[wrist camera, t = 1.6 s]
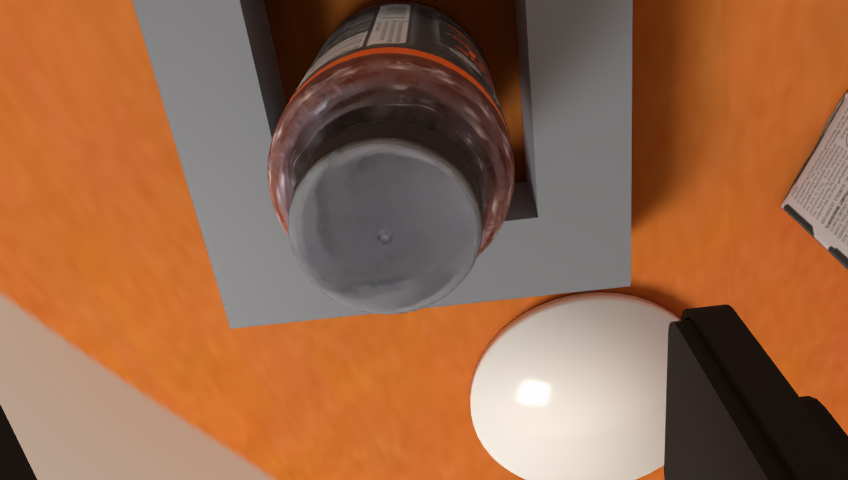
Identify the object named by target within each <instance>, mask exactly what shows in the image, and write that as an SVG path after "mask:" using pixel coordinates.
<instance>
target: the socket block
mask: <svg viewBox="0 0 848 480" xmlns="http://www.w3.org/2000/svg"><path fill="white" fill-rule="evenodd" d="M132 1H133V4H134V7H135V11H136V14H137V17H138V21H139V24H140V27H141V31H142V34H143V38H144V41H145V44H146V48H147V51H148V54H149V58H150V61H151V64H152V68H153V71H154V74H155V78H156V81H157V84H158V88H159V91H160V94H161V98H162V101H163V104H164V108H165V111H166V114H167V118H168V121H169V124H170V128H171V131H172V135H173V138H174V141H175V145H176V148H177V151H178V155H179V158H180V161H181V165H182V168H183V171H184V175H185V178H186V181H187V185H188V188H189V191H190V195H191V198H192V201H193V205H194V208H195V211H196V215H197V218H198V222H199V225H200V228H201V232H202V235H203V238H204V242H205V245H206V248H207V252H208V255H209V258H210V262H211V265H212V268H213V272H214V275H215V278H216V282H217V285H218V288H219V292H220V295H221V298H222V302H223V305H224V308H225V312H226V315H227V319H228V322H229V325H230V329H231V328H241V327H250V326H260V325H269V324H279V323H288V322H298V321H307V320H316V319H326V318H335V317H345V316H354V315H364V314H373V313H368V312H363V311H359V310H355V309H352V308H350V307H348V306H345V305H342V304H341V303H339V302H337V301H335V300H332V299H331V298H329V297H327V296H326V295H325V294H323V293H322V292H321V291H320V290H319V289H318V288H317V287H315V285H314V284H313V283H312V282H311V281H310V280H309V278H307V277H306V276H305V275H304V274H303V272H302V270H301V269H300V267H299V265H298V262H297V260H296V258H295V257H294V255H293V252H292V248H291V245H290V241H289V237H288V235H287V234H286V232H285V230H284V229H283V227H282V225H281V223H280V222H279V220H278V217H277V215H276V213H275V210H274V207H273V205H272V200H271V196H270V192H269V185H268V177H267V175H268V169H267V166H268V155H269V150H270V145H271V141H272V137H273V135H274V132H275V128H276V126H277V124H278V122H279V119H280V117H281V115H282V114H283V112H284V110H285V108H286V106H287V102H286V97H285V93H284V88H283V84H282V79H281V74H280V70H279V65H278V61H277V56H276V52H275V47H274V42H273V38H272V33H271V29H270V24H269V19H268V15H267V10H266V6H265V1H264V0H132ZM515 11H516V27H517V42H518V57H519V73H520V88H521V103H522V119H523V134H524V149H525V165H526V180H527V182H519V183H514V191H513V195H512V199H511V203H510V206H509V210H508V213H507V216H506V218H505V220H504V223H503V225H502V227H501V229H500V231H499V232H498V233H497V235H496V236H495V238H494V239H493V241H492V242H491V244H490V245H489V246H488V247H487V248H486V249H485V250H484V251H483V252H482V253H481V255H480V256H479V257H478V258H476V261H475V263H474V266H473V267H472V269H471V271H470V272H469V273H468V275H467V276H466V278H465V279H464V280H463V281H462V282H461V283H460V284H459V286H458V287H456V288H455V289H454V290H453V291H452V292H451V293H450V294H448V295H447V296H445V297H444V298H443V299H441V300H439V301H437V302H435V303H434V304H432V305H429V306H427V307H424V308H430V307H439V306H449V305H458V304H468V303H477V302H486V301H496V300H505V299H515V298H524V297H534V296H543V295H553V294H562V293H571V292H581V291H590V290H600V289H609V288H619V287H628V286H631V175H632V29H633V0H515Z"/></svg>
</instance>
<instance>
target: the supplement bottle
mask: <svg viewBox="0 0 848 480" xmlns="http://www.w3.org/2000/svg"><path fill="white" fill-rule="evenodd" d="M267 169H268V175H267V177H268V185H269V192H270V196H271V200H272V205H273V207H274V210H275V213H276V215H277V217H278V220H279V222H280V223H281V225H282V227H283V229H284V230H285V232H286V234H287V235H288V237H289V241H290V245H291V248H292V252H293V255H294V257H295V258H296V260H297V262H298V265H299V267H300V269H301V270H302V272H303V274H304V275H305V276H306V277H307V278H309V280H310V281H311V282H312V283H313V284H314V285H315V287H317V288H318V289H319V290H320V291H321V292H322V293H323V294H325V295H326V296H327V297H329V298H331V299H332V300H335V301H337V302H339V303H341V304H342V305H345V306H348V307H350V308H352V309H355V310H359V311H363V312H368V313H375V314H400V313H406V312H411V311H416V310H418V309H421V308H424V307H427V306H429V305H432V304H434V303H435V302H437V301H439V300H441V299H443V298H444V297H445V296H447V295H448V294H450V293H451V292H452V291H453V290H454V289H455V288H456V287H458V286H459V284H460V283H461V282H462V281H463V280H464V279H465V278H466V276H467V275H468V273H469V272H470V271H471V269H472V267H473V266H474V263H475V261H476V258H478V257H479V256H480V255H481V253H482V252H483V251H484V250H485V249H486V248H487V247H488V246H489V245H490V244H491V242H492V241H493V239H494V238H495V236H496V235H497V233H498V232H499V231H500V229H501V227H502V225H503V223H504V220H505V218H506V216H507V213H508V210H509V206H510V203H511V199H512V195H513V191H514V177H515V167H514V157H513V150H512V145H511V141H510V136H509V131H508V128H507V124H506V122H505V119H504V117H503V113H502V109H501V106H500V104H499V102H498V98H497V95H496V92H495V89H494V85H493V82H492V79H491V76H490V72H489V69H488V66H487V62H486V59H485V58H484V56H483V54H482V52H481V50H480V49H479V47H478V45H477V43H476V42H475V41H474V40H473V39H472V37H471V36H470V35H469V34H468V32H467V31H466V30H465V29H464V28H463V27H462V26H461V25H460V24H459V23H457V22H456V21H455V20H454V19H452V18H451V17H450V16H448V15H446V14H445V13H443V12H441V11H439V10H437V9H435V8H433V7H431V6H427V5H423V4H420V3H414V2H403V1H394V2H387V3H379V4H376V5H373V6H370V7H367V8H365V9H363V10H361V11H359V12H357V13H356V14H354V15H353V16H351V17H349V18H348V19H347V20H346V21H345V22H343V23H342V24H341V25H339V26H338V27H337V29H336V30H335V31H334V32H333V33H332V34H331V36H330V37H329V38H328V40H327V41H326V42H325V43H324V45H323V46H322V48H321V50H320V51H319V53H318V55H317V57H316V58H315V60H314V61H313V63H312V65H311V66H310V68H309V70H308V71H307V73H306V74H305V76H304V78H303V80H302V81H301V83H300V85H299V86H298V88H297V90H296V91H295V92H294V94H293V95H292V97H291V99H290V101H289V103H288V105H287V106H286V108H285V110H284V112H283V114H282V115H281V117H280V119H279V122H278V124H277V126H276V128H275V132H274V135H273V137H272V141H271V145H270V150H269V155H268V166H267Z"/></svg>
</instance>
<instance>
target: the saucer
mask: <svg viewBox="0 0 848 480" xmlns="http://www.w3.org/2000/svg"><path fill="white" fill-rule="evenodd" d="M672 321H681V319H680V318H679V317H677V316H676V315H675V314H674V313H672V312H670V311H669V310H667V309H666V308H664V307H662V306H660V305H658V304H656V303H654V302H651V301H649V300H646V299H643V298H640V297H636V296H632V295H627V294H621V293H609V292H593V293H581V294H575V295H569V296H565V297H562V298H558V299H554V300H551V301H549V302H546V303H544V304H541V305H539V306H536V307H534V308H533V309H531V310H529V311H527V312H525V313H523V314H522V315H520V316H519V317H517V318H516V319H514V320H513V321H511V322H510V323H509V324H508V325H507V326H505V327H504V328H503V329H502V330H501V331H500V332H499V333H498V334H497V335H496V336H495V337H494V338H493V339H492V341H491V342H490V343H489V344H488V346H487V347H486V349H485V350H484V352H483V353H482V355H481V356H480V358H479V361H478V363H477V365H476V367H475V370H474V373H473V377H472V380H471V388H470V406H471V415H472V420H473V425H474V428H475V430H476V433H477V435H478V438H479V439H480V441H481V443H482V444H483V446H484V448H485V449H486V450H487V451H488V452H489V454H490V455H491V456H492V457H493V458H494V459H495V460H496V461H497V462H498V463H499V464H501V465H502V466H503V467H505V468H506V469H507V470H509V471H510V472H512V473H514V474H516V475H518V476H519V477H521V478H523V479H526V480H635V479H638V478H640V477H642V476H644V475H647V474H649V473H651V472H653V471H654V470H656V469H658V468H660V467H661V466H663V465H664V453H665V420H666V387H667V354H668V329H669V324H670V323H671V322H672Z"/></svg>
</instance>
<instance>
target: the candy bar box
mask: <svg viewBox="0 0 848 480" xmlns="http://www.w3.org/2000/svg"><path fill="white" fill-rule="evenodd" d="M781 207H782V209H784V210H785V211H786V212H787V213H788V214H789V215H790V216H791V217H792V218H793V219H794V220H796V221H797V222H798V223H799V224H800V225H801V226H802V227H803V228H804V229H805V230H806V231H807V232H808V233H809V234H810V235H812V236H813V237H814V238H815V239H816V240H817V241H818V242H819V243H820V244H821V245H822V246H823V247H824V248H825V249H826V250H827V251H828V252H830V253H831V254H832V255H833V256H834V257H835V258H836V259H837V260H838V261H839V262H840V263H841V264H842V265H843V266H844V267H845V268H846V269H847V270H848V92H846V94H845V95H844V97H843V98H842V100H841V101H840V103H839V104H838V106H837V107H836V109H835V111H834V112H833V114H832V115H831V117H830V119H829V121H828V122H827V124H826V126H825V129H824V131H823V133H822V135H821V137H820V139H819V141H818V143H817V145H816V147H815V148H814V150H813V152H812V153H811V155H810V157H809V159H808V160H807V162H806V163H805V165H804V166H803V168H802V170H801V171H800V173H799V175H798V176H797V178H796V180H795V181H794V183H793V185H792V187H791V189H790V191H789V192H788V194H787V196H786V198H785V199H784V201H783V203H782V206H781Z"/></svg>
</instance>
